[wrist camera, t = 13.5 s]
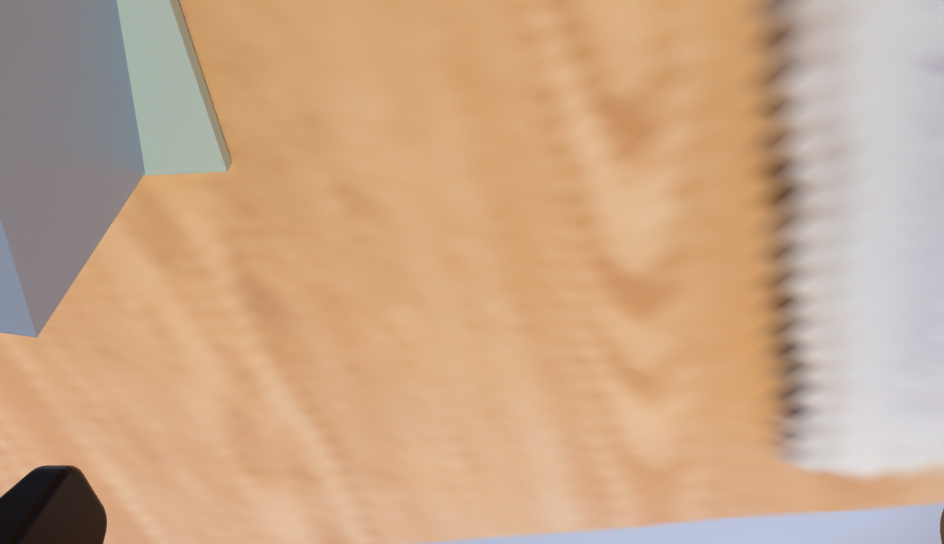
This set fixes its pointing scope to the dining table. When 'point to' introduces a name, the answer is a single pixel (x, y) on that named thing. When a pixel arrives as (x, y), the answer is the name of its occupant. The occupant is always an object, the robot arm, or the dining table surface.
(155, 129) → the mat
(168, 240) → the dining table surface
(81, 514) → the robot arm
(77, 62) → the cover
